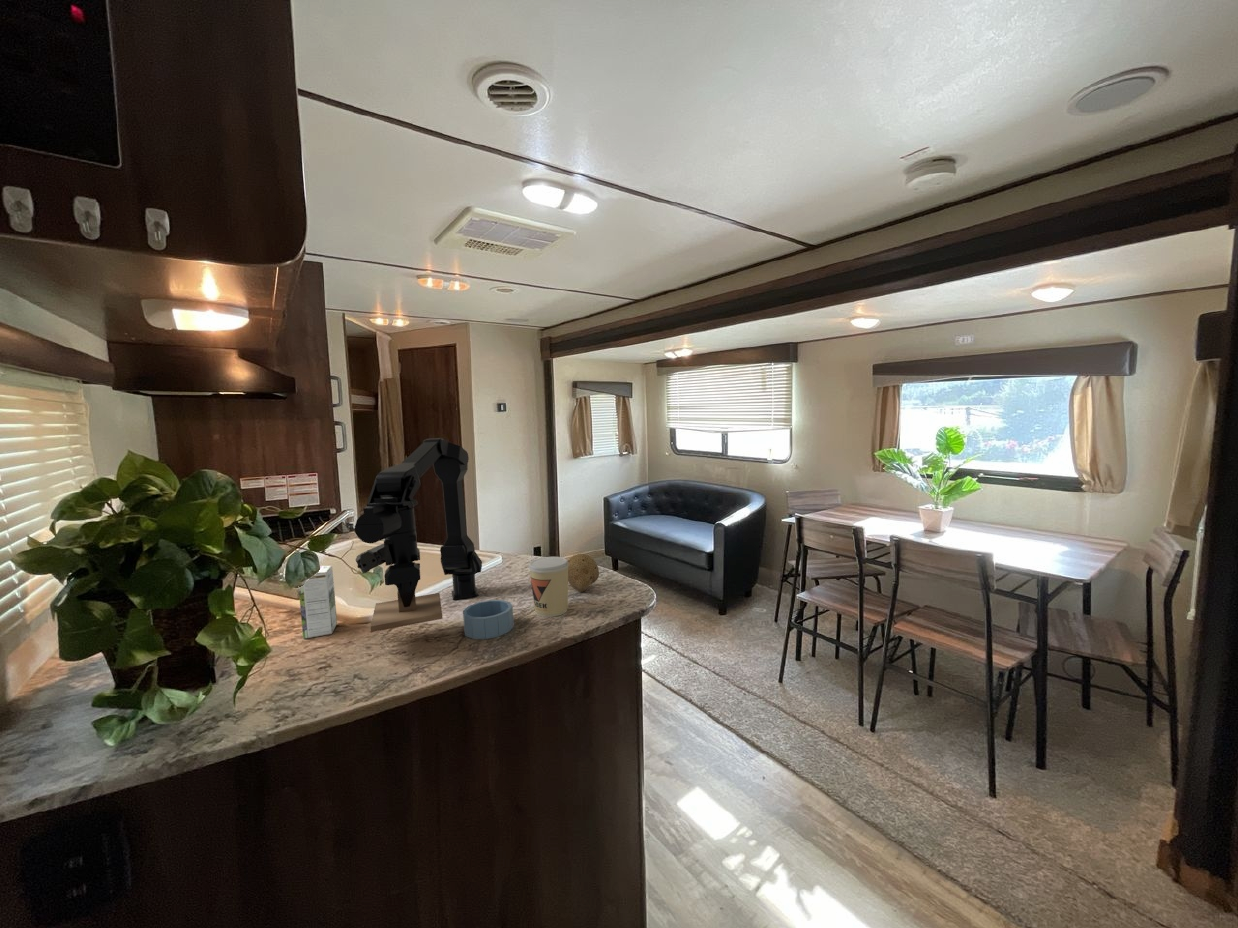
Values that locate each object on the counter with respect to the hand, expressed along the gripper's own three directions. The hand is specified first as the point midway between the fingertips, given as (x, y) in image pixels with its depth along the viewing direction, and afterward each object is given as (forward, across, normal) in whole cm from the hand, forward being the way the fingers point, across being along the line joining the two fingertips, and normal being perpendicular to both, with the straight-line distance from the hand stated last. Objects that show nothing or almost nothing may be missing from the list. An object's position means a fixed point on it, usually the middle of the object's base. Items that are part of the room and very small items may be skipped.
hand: (407, 603), depth 100 cm
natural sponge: (+9, -11, +42) cm, 44 cm away
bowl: (+8, +1, +16) cm, 18 cm away
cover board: (+2, 0, 0) cm, 2 cm away
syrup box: (+9, -16, -19) cm, 26 cm away
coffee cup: (+9, -2, +31) cm, 32 cm away
